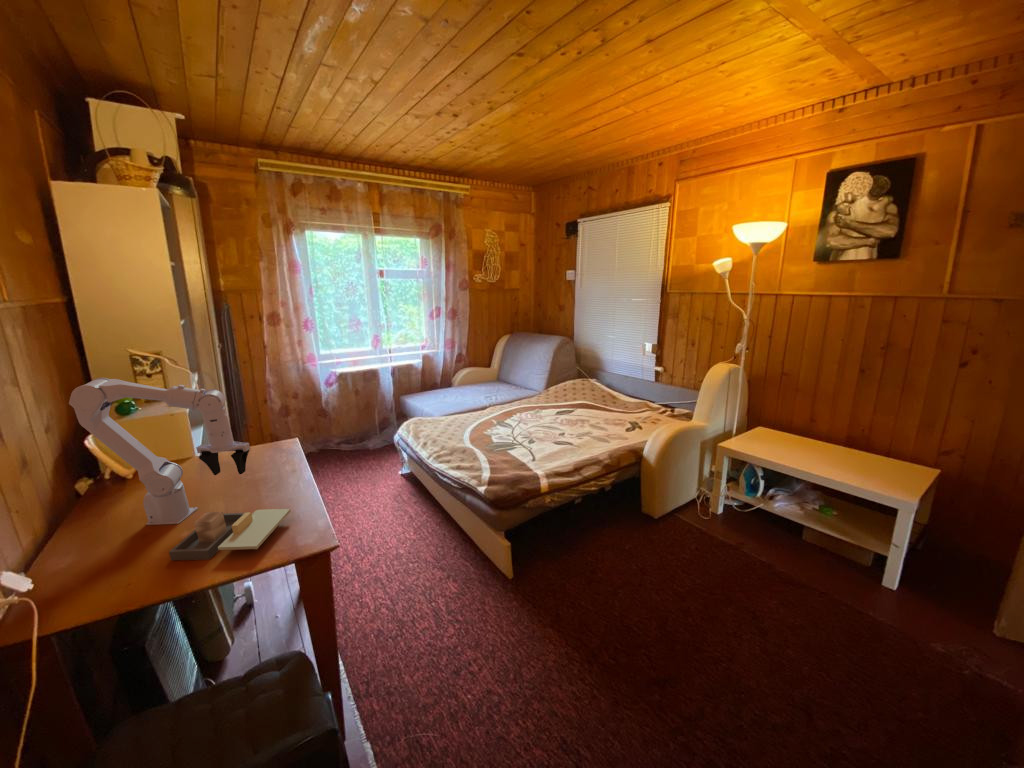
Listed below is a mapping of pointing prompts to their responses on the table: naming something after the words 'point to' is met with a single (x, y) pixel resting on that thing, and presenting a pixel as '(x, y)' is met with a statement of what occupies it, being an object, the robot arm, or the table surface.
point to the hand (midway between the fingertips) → (229, 473)
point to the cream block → (210, 526)
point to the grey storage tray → (202, 543)
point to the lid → (253, 529)
